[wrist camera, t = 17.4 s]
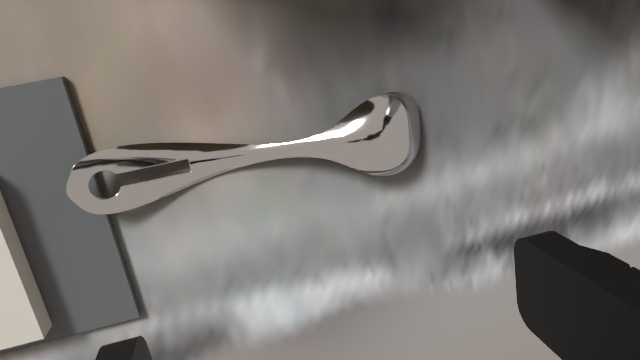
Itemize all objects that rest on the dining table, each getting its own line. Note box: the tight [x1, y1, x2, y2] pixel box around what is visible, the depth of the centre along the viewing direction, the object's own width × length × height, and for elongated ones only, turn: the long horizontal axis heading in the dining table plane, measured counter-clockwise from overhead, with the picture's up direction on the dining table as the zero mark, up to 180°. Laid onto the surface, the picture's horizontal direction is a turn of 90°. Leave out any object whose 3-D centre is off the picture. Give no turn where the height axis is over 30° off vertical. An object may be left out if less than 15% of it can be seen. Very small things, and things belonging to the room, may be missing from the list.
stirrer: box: [66, 92, 421, 214], centre depth 27 cm, size 20×4×5 cm
